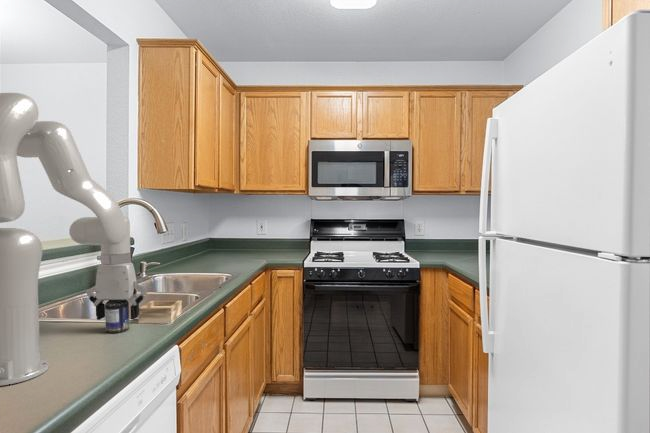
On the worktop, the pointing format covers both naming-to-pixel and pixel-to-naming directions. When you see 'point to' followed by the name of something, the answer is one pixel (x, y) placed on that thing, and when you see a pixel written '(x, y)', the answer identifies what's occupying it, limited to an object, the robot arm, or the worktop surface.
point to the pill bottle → (117, 316)
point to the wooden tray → (160, 311)
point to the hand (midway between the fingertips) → (117, 318)
